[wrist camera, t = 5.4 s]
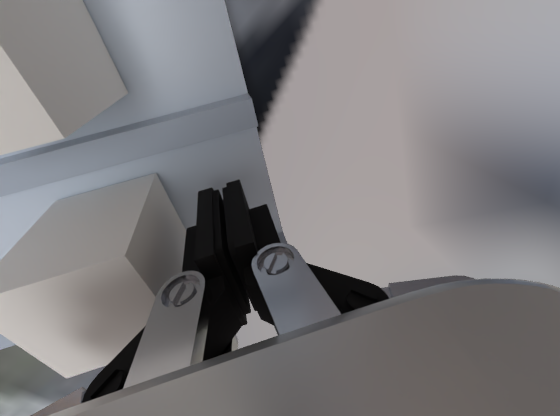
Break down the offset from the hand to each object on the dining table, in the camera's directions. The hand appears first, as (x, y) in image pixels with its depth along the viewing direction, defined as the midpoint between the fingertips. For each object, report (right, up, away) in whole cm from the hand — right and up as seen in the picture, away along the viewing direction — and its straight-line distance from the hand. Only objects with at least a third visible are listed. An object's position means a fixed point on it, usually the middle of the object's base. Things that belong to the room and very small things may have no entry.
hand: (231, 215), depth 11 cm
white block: (-5, 0, +1) cm, 5 cm away
